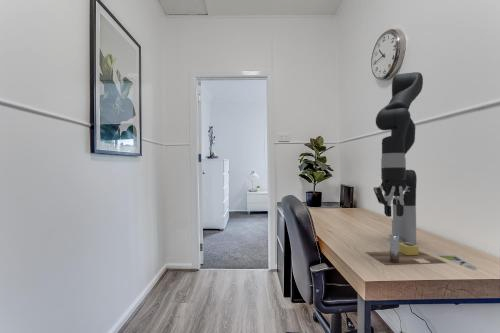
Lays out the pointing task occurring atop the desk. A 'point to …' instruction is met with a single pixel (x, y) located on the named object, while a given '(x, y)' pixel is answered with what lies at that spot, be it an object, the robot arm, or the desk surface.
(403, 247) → the yellow square block
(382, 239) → the desk surface
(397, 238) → the metal cylinder
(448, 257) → the handheld gaming device
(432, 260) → the board
